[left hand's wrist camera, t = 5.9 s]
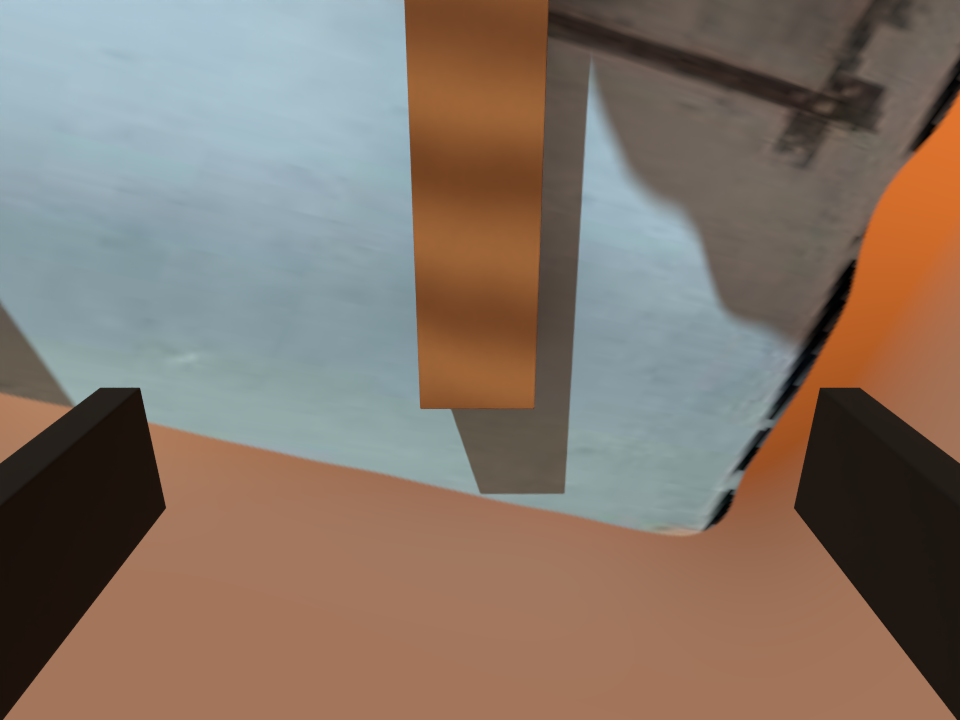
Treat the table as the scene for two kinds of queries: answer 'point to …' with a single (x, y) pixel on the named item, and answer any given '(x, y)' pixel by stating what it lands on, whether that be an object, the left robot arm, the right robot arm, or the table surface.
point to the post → (476, 196)
